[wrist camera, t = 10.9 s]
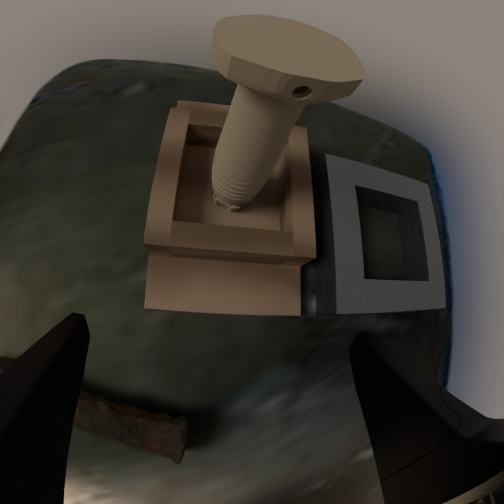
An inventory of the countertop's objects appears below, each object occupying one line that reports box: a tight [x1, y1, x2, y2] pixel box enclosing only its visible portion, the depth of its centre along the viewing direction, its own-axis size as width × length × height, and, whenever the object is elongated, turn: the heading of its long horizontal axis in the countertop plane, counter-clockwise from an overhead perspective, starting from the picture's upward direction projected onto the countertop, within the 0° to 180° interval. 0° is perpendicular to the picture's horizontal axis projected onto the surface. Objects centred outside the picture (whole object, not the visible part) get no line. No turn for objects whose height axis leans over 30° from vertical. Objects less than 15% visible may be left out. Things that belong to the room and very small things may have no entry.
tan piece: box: [143, 101, 316, 316], centre depth 22 cm, size 20×12×4 cm, turn 179°
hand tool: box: [0, 357, 188, 465], centre depth 15 cm, size 19×4×5 cm, turn 76°
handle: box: [211, 15, 365, 212], centre depth 16 cm, size 5×6×15 cm
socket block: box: [311, 154, 446, 316], centre depth 25 cm, size 14×14×4 cm
